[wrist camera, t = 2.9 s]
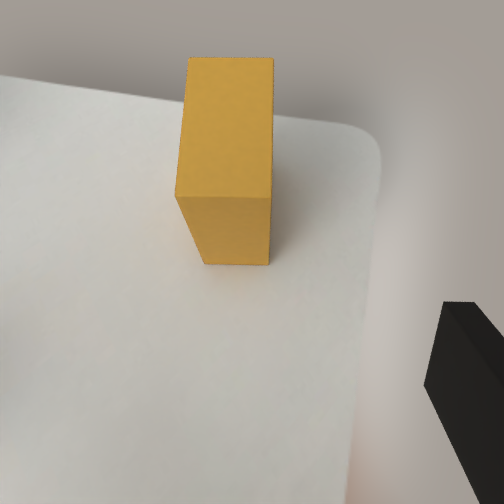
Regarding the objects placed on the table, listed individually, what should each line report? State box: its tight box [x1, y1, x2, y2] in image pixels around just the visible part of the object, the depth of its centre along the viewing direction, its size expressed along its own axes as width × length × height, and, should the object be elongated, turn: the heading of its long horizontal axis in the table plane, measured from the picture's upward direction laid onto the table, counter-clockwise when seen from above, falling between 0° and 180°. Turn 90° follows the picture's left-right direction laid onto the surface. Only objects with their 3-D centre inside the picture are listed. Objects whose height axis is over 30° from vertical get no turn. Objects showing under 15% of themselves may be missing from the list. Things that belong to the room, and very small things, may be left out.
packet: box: [175, 57, 274, 265], centre depth 25 cm, size 4×8×10 cm, turn 178°
